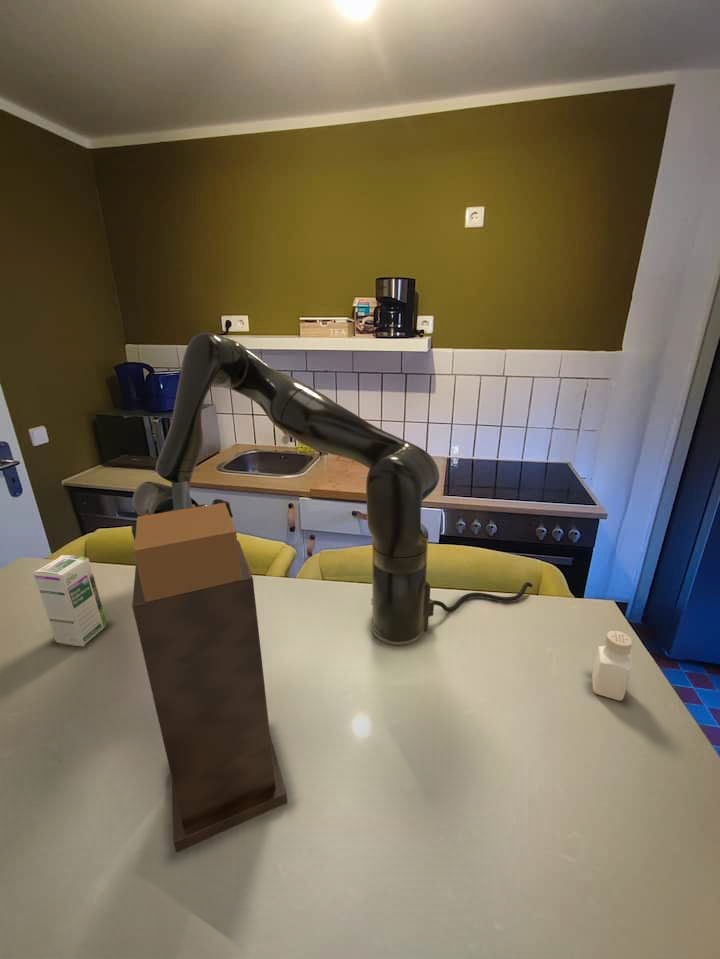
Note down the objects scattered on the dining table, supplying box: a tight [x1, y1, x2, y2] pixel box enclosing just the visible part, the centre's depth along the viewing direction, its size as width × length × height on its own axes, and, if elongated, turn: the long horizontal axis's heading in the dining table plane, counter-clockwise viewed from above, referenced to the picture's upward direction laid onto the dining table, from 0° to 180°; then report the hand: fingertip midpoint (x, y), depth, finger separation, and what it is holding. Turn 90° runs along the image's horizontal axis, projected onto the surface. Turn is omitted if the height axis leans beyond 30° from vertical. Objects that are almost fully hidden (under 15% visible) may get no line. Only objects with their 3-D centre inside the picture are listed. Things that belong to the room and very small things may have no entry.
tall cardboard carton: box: [133, 481, 242, 602], centre depth 47 cm, size 8×24×5 cm, turn 24°
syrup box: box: [32, 554, 108, 648], centre depth 74 cm, size 6×6×14 cm
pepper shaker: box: [591, 630, 633, 701], centre depth 63 cm, size 4×4×10 cm
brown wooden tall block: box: [131, 539, 288, 853], centre depth 46 cm, size 12×10×30 cm
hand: (191, 529), depth 61 cm, fingers open, 8 cm apart
